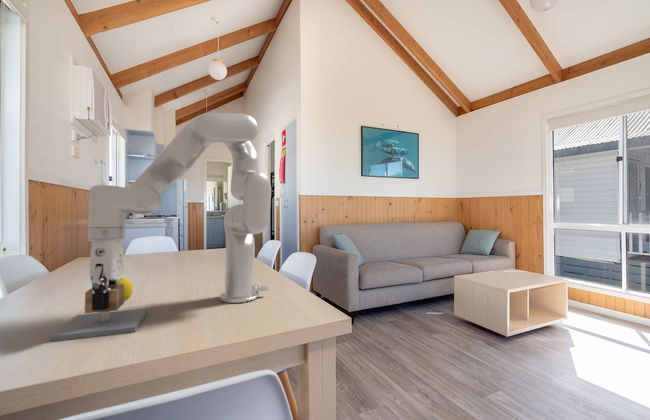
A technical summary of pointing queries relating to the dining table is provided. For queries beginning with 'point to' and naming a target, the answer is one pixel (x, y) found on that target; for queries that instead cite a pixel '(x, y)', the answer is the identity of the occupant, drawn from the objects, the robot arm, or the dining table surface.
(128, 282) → the lemon
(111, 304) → the brown wooden hollow block
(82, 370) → the dining table surface
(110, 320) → the grey peg board
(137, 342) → the dining table surface
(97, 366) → the dining table surface
